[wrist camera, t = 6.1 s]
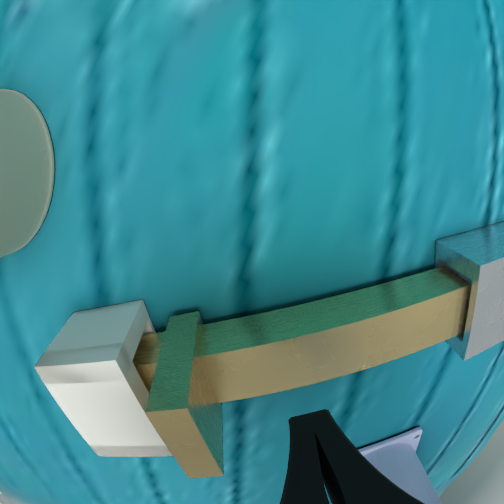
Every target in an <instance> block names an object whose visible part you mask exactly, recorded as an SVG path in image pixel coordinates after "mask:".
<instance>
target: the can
mask: <svg viewBox="0 0 504 504" xmlns="http://www.w3.org/2000/svg"><path fill="white" fill-rule="evenodd" d="M54 172H55V167H54V152H53V146H52V141H51V137H50V133H49V130H48V127H47V124H46V122H45V120H44V118H43V116H42V114H41V112H40V111H39V109H38V108H37V107H36V105H35V104H34V103H33V102H32V101H31V100H30V99H29V98H27V97H26V96H25V95H23V94H21V93H19V92H17V91H14V90H9V89H0V258H2V257H3V256H5V255H7V254H11V253H13V252H16V251H18V250H20V249H21V248H23V247H24V246H25V245H27V244H28V243H29V242H30V241H31V240H32V239H33V237H34V236H35V235H36V233H37V232H38V230H39V229H40V227H41V225H42V223H43V221H44V219H45V217H46V214H47V212H48V209H49V205H50V202H51V197H52V192H53V186H54Z"/></svg>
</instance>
